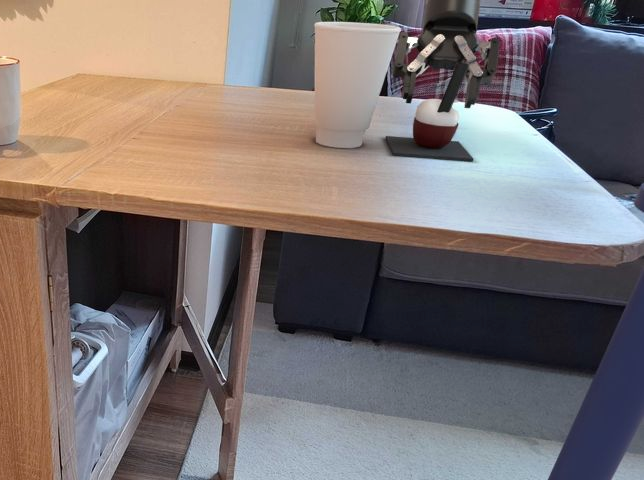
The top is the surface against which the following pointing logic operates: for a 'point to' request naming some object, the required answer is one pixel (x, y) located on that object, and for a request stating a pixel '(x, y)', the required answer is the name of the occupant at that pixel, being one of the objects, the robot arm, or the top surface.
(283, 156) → the top surface
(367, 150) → the top surface
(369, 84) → the cup
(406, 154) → the coaster
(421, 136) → the cocoa
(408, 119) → the top surface
